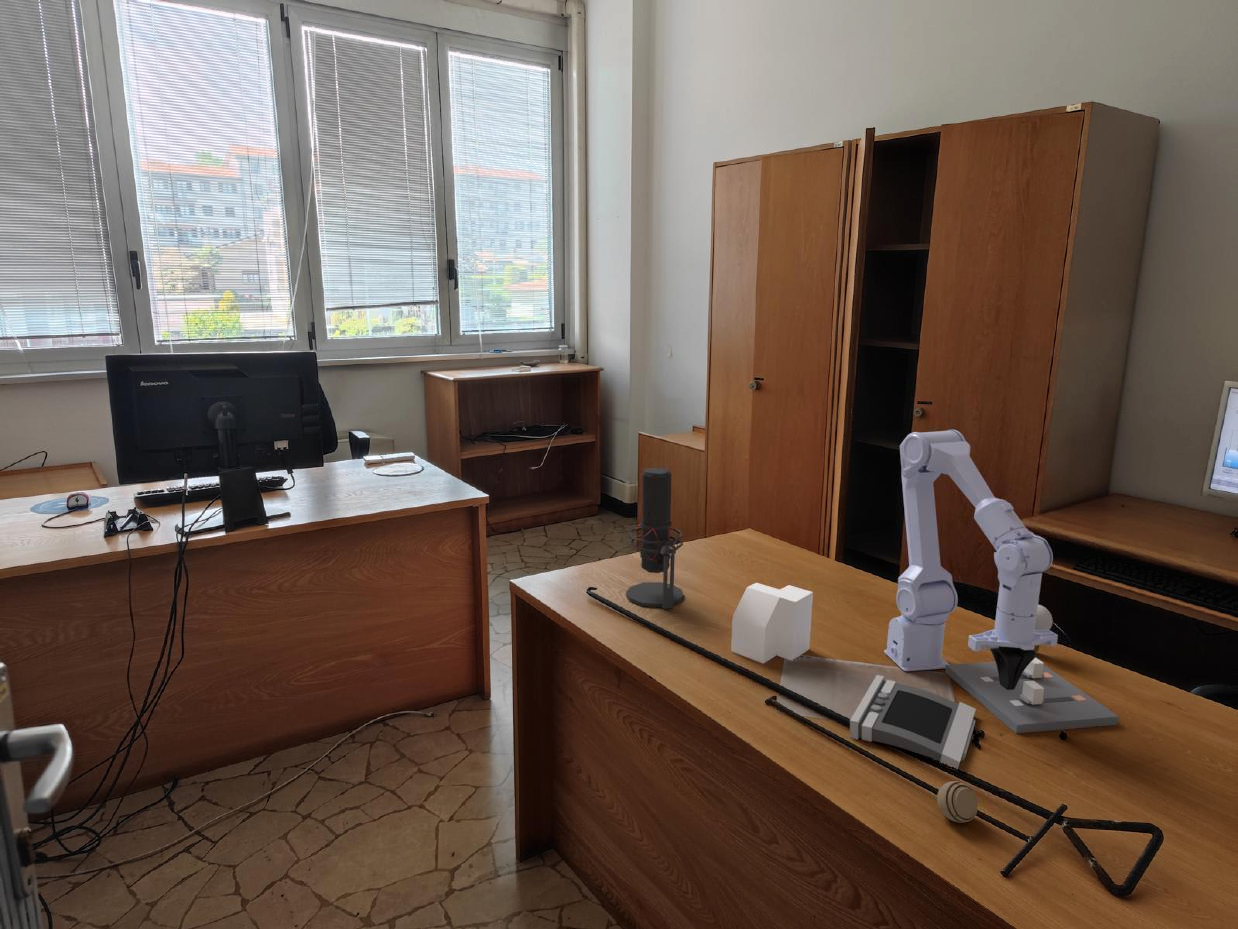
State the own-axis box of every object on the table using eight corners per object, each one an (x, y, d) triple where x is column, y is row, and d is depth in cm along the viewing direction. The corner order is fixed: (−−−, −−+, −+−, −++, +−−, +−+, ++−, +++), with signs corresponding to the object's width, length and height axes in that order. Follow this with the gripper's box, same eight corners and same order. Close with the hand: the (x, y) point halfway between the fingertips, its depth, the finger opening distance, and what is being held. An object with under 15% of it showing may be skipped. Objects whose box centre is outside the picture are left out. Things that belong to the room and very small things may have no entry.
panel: (1016, 733, 119) (1017, 724, 119) (945, 672, 138) (945, 664, 138) (1117, 724, 122) (1118, 716, 121) (1033, 666, 141) (1034, 658, 140)
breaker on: (1029, 678, 132) (1031, 664, 132) (1019, 671, 135) (1021, 657, 134) (1044, 677, 133) (1047, 663, 132) (1035, 670, 135) (1036, 656, 135)
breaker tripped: (1028, 704, 124) (1030, 689, 123) (1018, 696, 126) (1020, 681, 126) (1045, 703, 124) (1047, 688, 124) (1034, 695, 127) (1036, 680, 126)
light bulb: (1052, 661, 143) (1059, 612, 141) (1018, 658, 144) (1025, 609, 142) (1041, 647, 148) (1048, 600, 146) (1009, 644, 149) (1015, 597, 147)
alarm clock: (876, 674, 131) (979, 694, 123) (876, 699, 132) (978, 720, 124) (849, 720, 117) (963, 745, 109) (850, 747, 118) (962, 774, 109)
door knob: (935, 825, 98) (939, 792, 97) (934, 802, 103) (938, 770, 102) (977, 835, 96) (981, 801, 95) (974, 811, 101) (978, 778, 100)
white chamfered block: (809, 649, 147) (813, 592, 145) (778, 669, 139) (782, 609, 137) (762, 633, 154) (765, 578, 152) (731, 651, 146) (733, 593, 144)
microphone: (697, 594, 174) (701, 469, 168) (670, 614, 163) (673, 481, 156) (644, 581, 182) (646, 461, 175) (614, 600, 171) (615, 472, 164)
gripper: (990, 623, 116) (981, 702, 119) (1075, 617, 118) (1064, 696, 121) (964, 605, 123) (955, 680, 126) (1044, 600, 125) (1034, 675, 128)
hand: (1007, 686), depth 124 cm, fingers closed
